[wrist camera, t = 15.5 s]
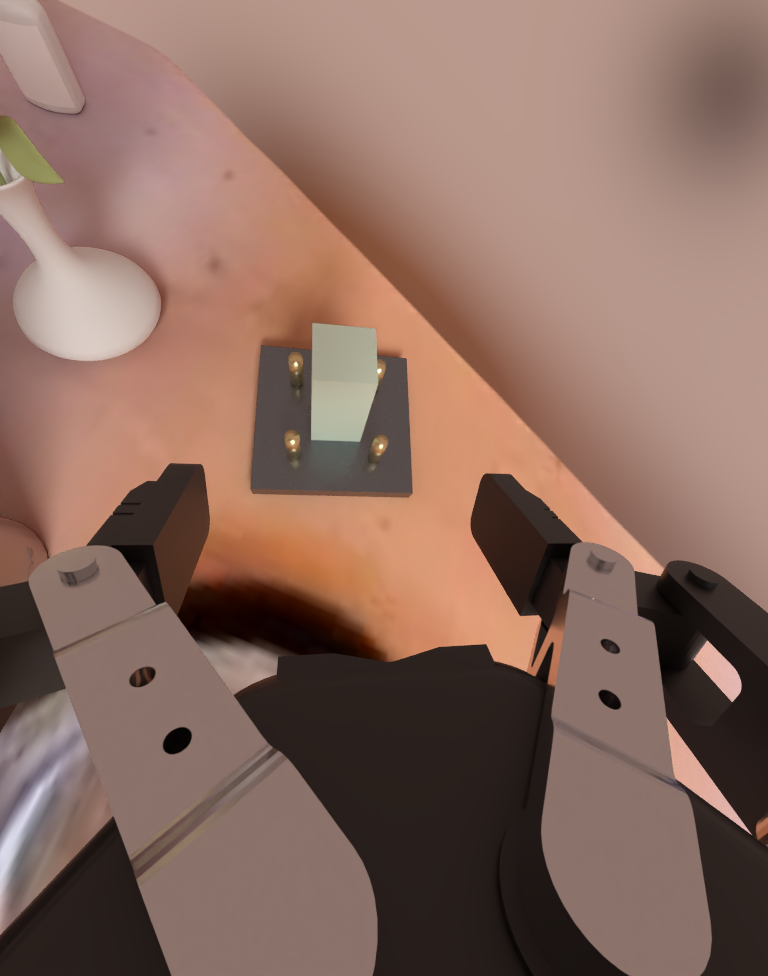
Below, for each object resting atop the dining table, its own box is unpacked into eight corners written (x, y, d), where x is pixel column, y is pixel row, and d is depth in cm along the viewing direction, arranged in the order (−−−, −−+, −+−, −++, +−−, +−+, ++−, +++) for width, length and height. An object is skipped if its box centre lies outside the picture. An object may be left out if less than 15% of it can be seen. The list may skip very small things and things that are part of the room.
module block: (311, 439, 35) (311, 379, 26) (311, 395, 36) (312, 322, 27) (359, 441, 36) (378, 384, 26) (359, 398, 37) (375, 328, 28)
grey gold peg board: (253, 493, 34) (244, 476, 30) (262, 355, 38) (256, 320, 33) (408, 497, 37) (423, 482, 32) (403, 366, 41) (415, 335, 36)
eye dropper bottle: (61, 126, 41) (-33, -55, 30) (19, 95, 41) (-91, -96, 30) (94, 107, 43) (16, -71, 31) (53, 78, 43) (-39, -111, 31)
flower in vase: (-3, 315, 35) (-675, -304, 11) (106, 247, 38) (-221, -323, 15) (108, 407, 34) (-347, -32, 10) (207, 330, 38) (36, -123, 14)
